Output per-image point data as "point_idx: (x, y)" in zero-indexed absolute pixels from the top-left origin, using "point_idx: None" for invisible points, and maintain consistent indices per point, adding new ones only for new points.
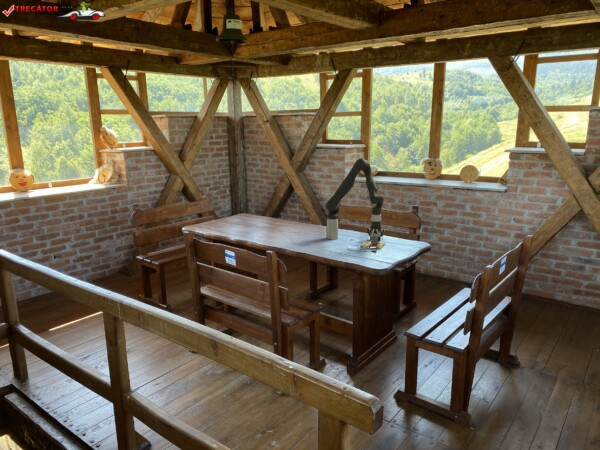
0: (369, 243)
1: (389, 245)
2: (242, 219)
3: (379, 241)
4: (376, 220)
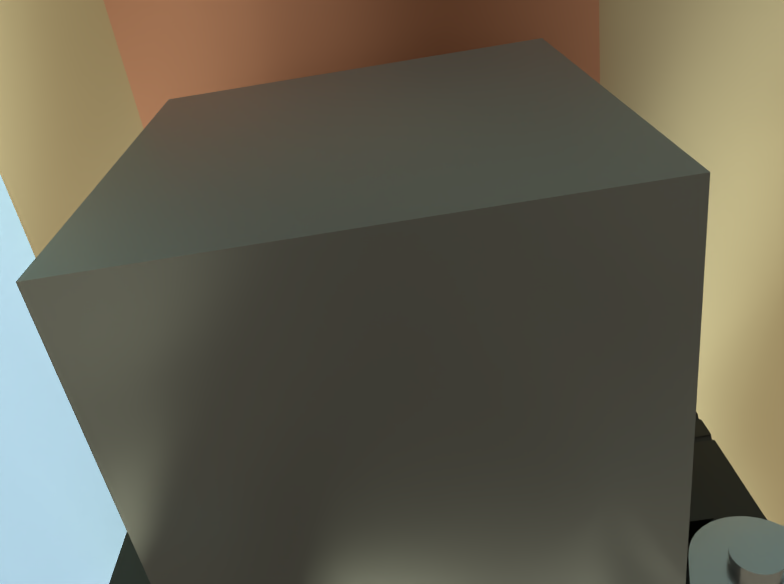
0: None
1: (48, 578)
2: None
3: None
4: None
